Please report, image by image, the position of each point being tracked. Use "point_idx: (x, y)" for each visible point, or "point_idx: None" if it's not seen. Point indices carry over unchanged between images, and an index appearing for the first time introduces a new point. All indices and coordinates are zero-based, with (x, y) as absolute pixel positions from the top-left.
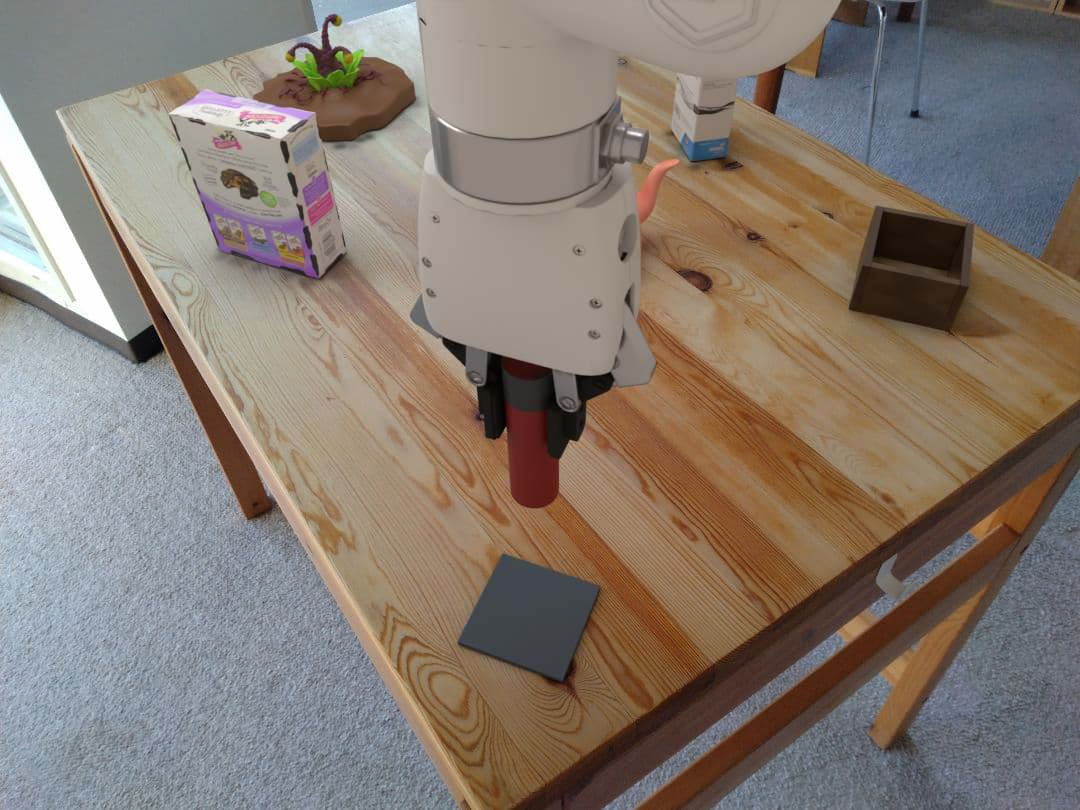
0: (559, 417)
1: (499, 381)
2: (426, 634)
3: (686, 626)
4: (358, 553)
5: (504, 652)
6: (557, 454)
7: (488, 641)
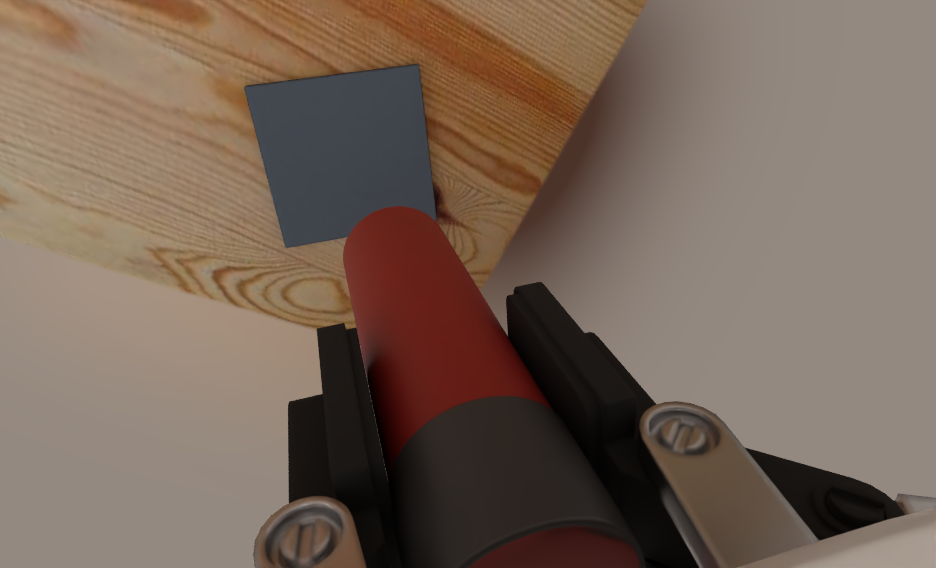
0: None
1: (392, 555)
2: (237, 255)
3: (549, 61)
4: (24, 204)
5: (351, 228)
6: None
7: (323, 227)
